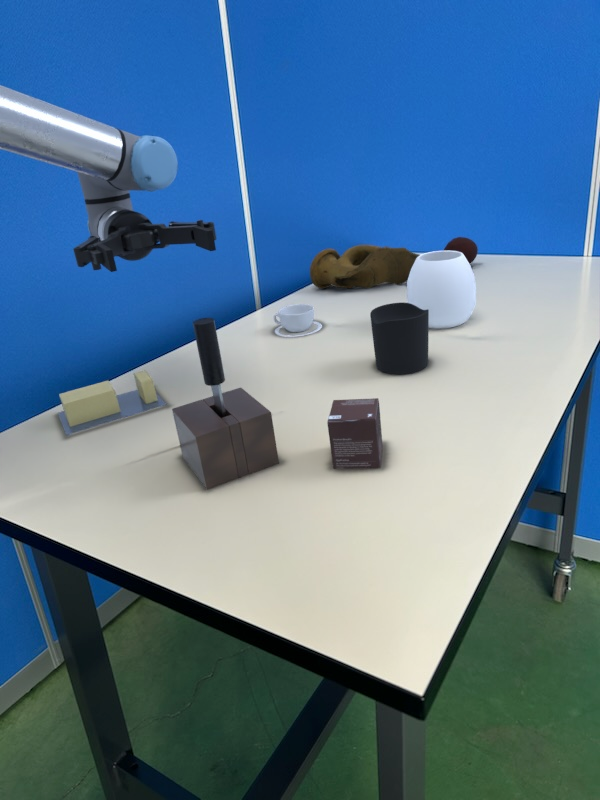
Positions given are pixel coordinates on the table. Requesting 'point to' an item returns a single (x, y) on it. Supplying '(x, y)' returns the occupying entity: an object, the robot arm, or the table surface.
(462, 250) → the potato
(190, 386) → the table surface
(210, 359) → the knife
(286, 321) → the teacup
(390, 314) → the pen holder
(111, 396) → the butter stick
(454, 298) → the white vase
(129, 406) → the butter dish
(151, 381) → the butter slice
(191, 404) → the knife block
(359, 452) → the box
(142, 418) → the table surface
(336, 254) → the brown looped sculpture
